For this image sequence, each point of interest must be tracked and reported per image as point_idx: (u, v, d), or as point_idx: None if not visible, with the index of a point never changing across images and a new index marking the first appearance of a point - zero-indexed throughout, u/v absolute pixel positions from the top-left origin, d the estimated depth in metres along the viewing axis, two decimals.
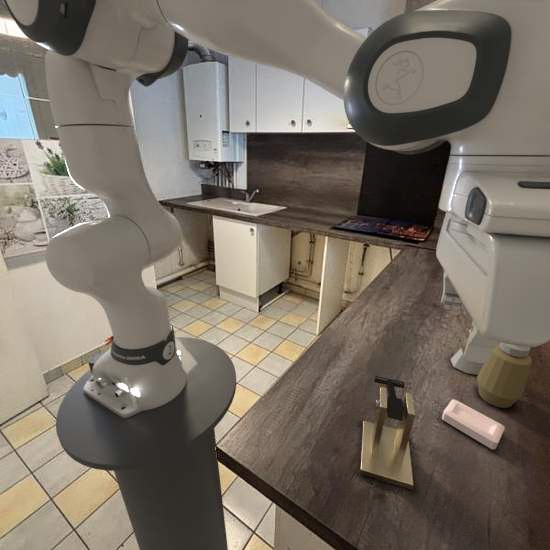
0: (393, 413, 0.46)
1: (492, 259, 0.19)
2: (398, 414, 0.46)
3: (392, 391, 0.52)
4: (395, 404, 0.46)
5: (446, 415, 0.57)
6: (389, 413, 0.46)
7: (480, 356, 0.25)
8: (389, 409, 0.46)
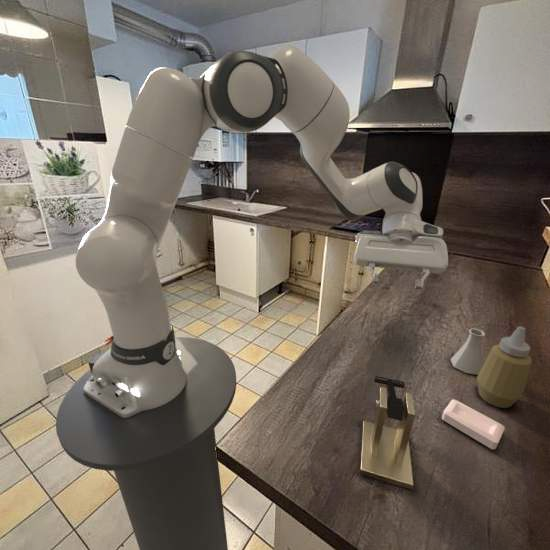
0: (393, 413, 0.46)
1: (443, 243, 0.65)
2: (398, 414, 0.46)
3: (392, 391, 0.52)
4: (395, 404, 0.46)
5: (446, 415, 0.57)
6: (389, 413, 0.46)
7: None
8: (389, 409, 0.46)
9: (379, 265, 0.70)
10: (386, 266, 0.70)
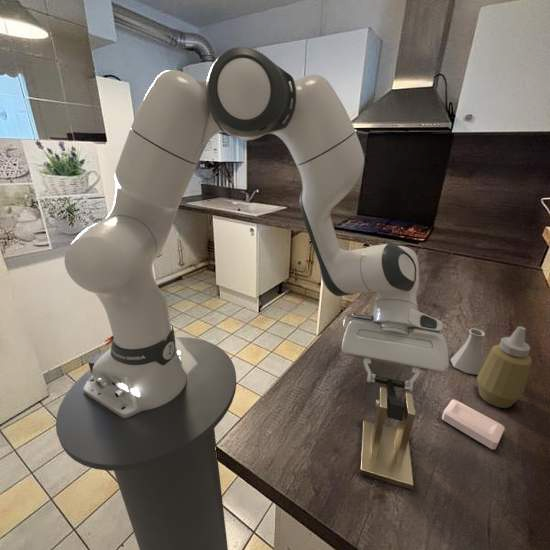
0: (393, 413, 0.46)
1: (443, 340, 0.56)
2: (398, 414, 0.46)
3: (392, 391, 0.52)
4: (395, 404, 0.46)
5: (446, 415, 0.57)
6: (389, 413, 0.46)
7: None
8: (389, 409, 0.46)
9: None
10: (378, 359, 0.61)
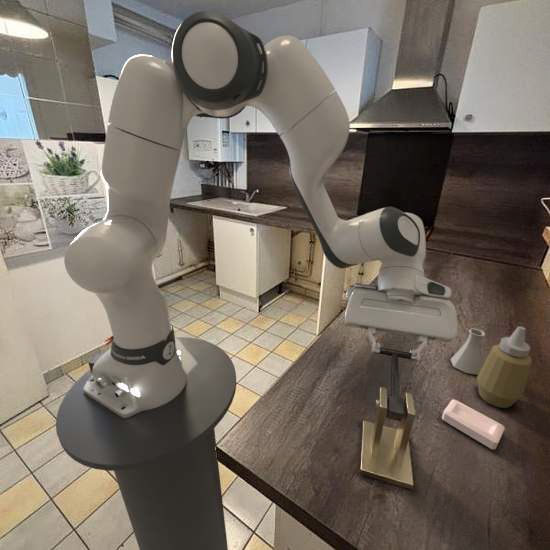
0: (392, 416, 0.46)
1: (452, 307, 0.54)
2: (397, 417, 0.46)
3: (395, 377, 0.51)
4: (395, 411, 0.46)
5: (446, 415, 0.57)
6: (388, 416, 0.47)
7: None
8: (388, 414, 0.46)
9: None
10: (382, 329, 0.58)
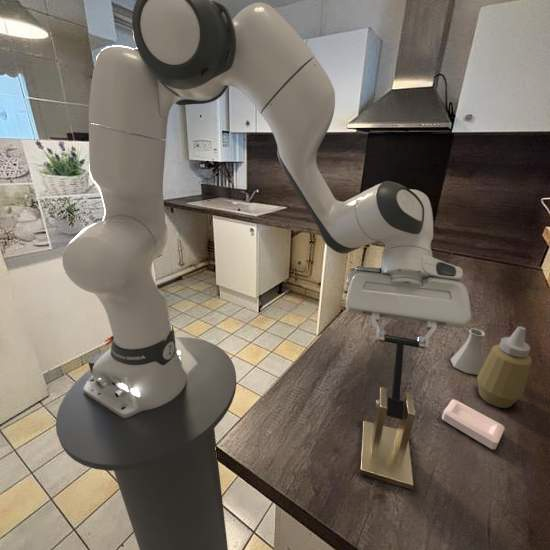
0: None
1: (464, 289, 0.49)
2: None
3: (398, 374, 0.48)
4: (394, 416, 0.46)
5: (446, 415, 0.57)
6: (387, 415, 0.47)
7: None
8: (388, 415, 0.47)
9: None
10: (387, 316, 0.53)
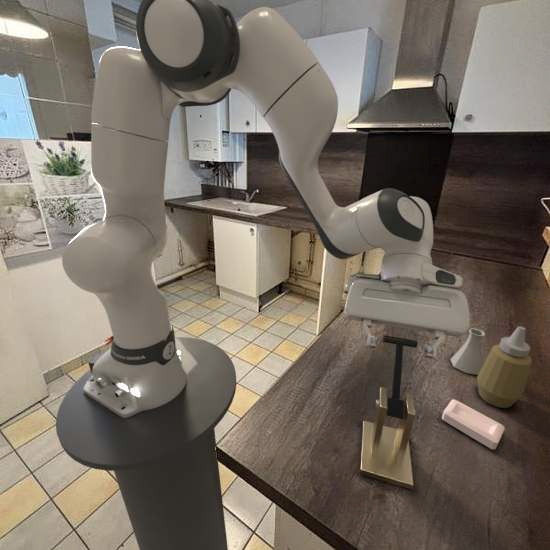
0: None
1: (463, 297, 0.48)
2: None
3: (398, 374, 0.49)
4: (394, 416, 0.46)
5: (446, 415, 0.57)
6: None
7: None
8: (388, 415, 0.47)
9: (377, 321, 0.53)
10: (386, 323, 0.53)
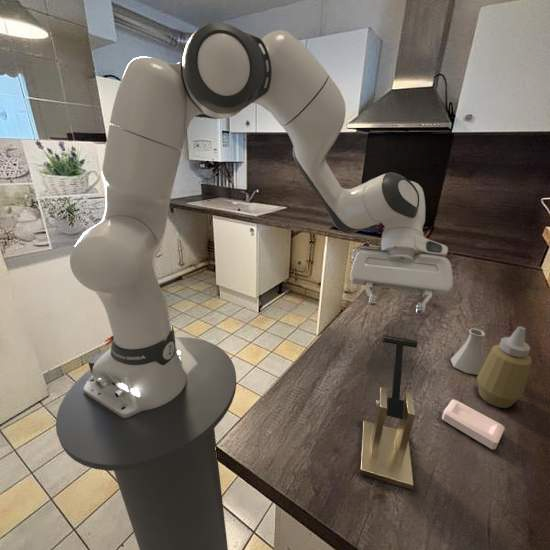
0: None
1: (448, 263, 0.59)
2: None
3: (398, 374, 0.49)
4: (394, 416, 0.46)
5: (446, 415, 0.57)
6: None
7: None
8: (388, 415, 0.47)
9: (377, 284, 0.64)
10: (385, 286, 0.64)
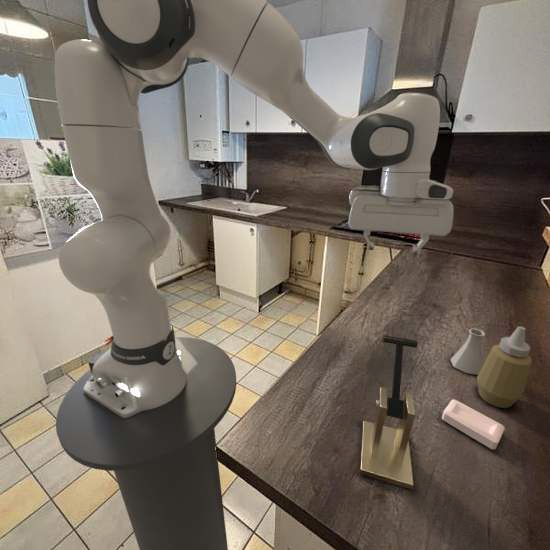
0: None
1: (450, 207, 0.56)
2: None
3: (398, 374, 0.49)
4: (394, 416, 0.46)
5: (446, 415, 0.57)
6: None
7: None
8: (388, 415, 0.47)
9: None
10: None
